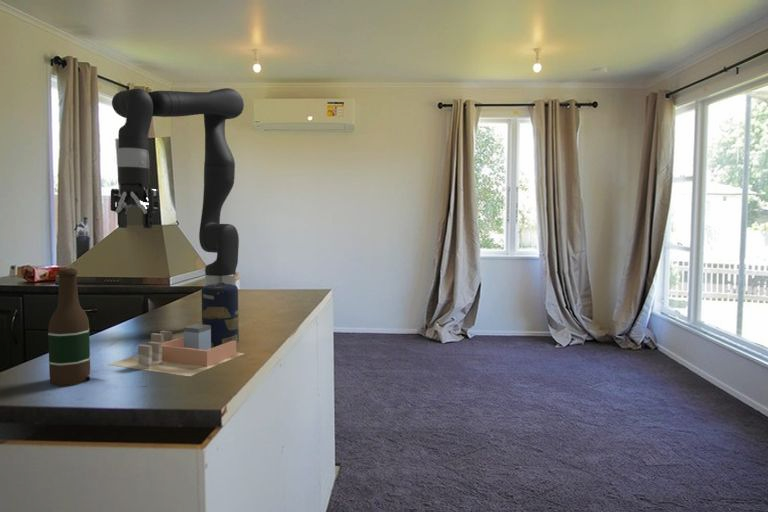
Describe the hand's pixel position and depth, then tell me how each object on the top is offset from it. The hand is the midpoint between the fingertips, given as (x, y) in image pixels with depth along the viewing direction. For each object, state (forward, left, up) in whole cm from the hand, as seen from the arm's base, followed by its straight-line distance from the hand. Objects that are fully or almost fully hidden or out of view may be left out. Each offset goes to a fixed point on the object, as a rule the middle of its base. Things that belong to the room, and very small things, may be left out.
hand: (135, 228), depth 136 cm
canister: (-8, +21, -32) cm, 39 cm away
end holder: (+6, +25, -31) cm, 40 cm away
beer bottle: (+28, +10, -32) cm, 44 cm away
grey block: (+6, +25, -30) cm, 40 cm away
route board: (+9, +22, -32) cm, 40 cm away
